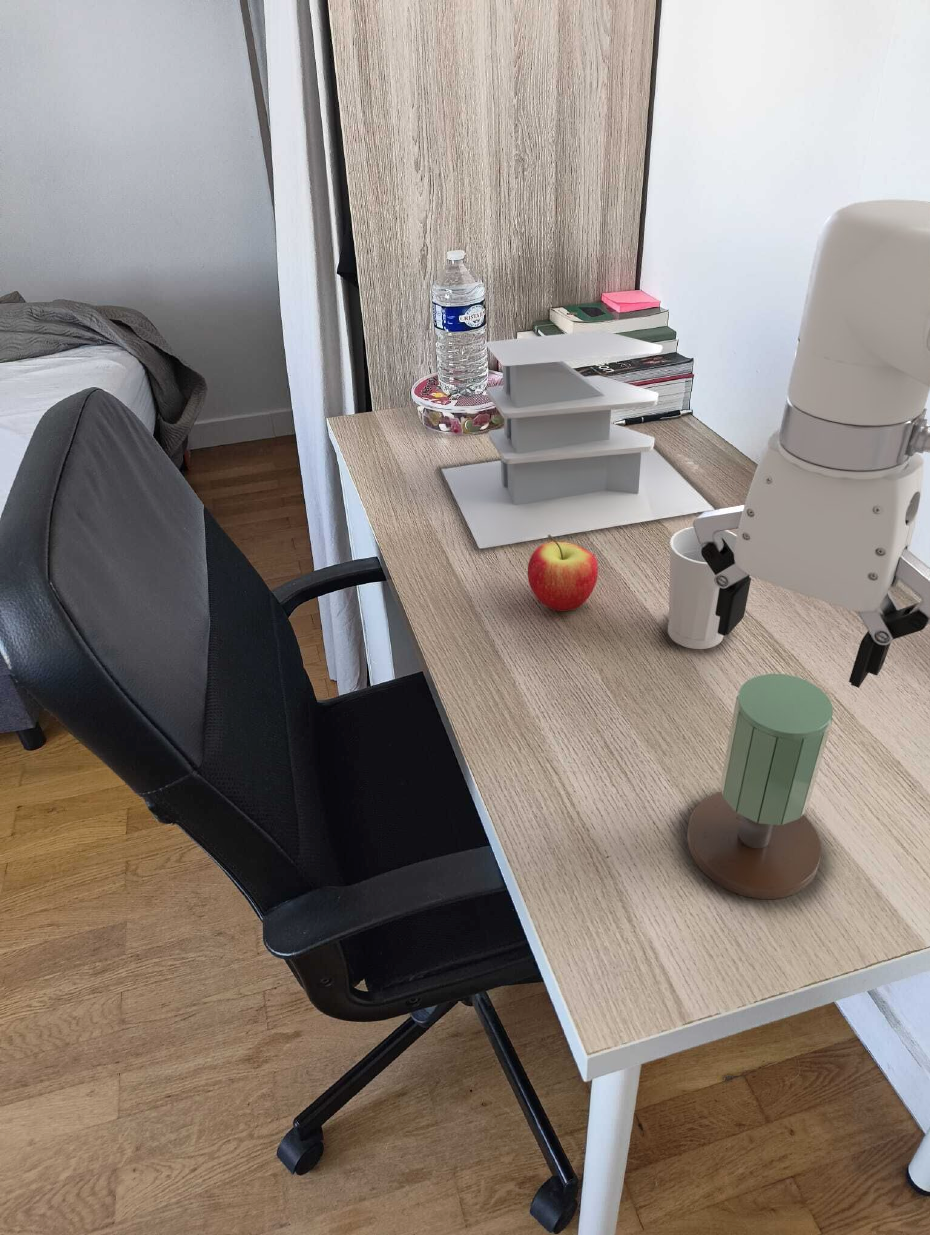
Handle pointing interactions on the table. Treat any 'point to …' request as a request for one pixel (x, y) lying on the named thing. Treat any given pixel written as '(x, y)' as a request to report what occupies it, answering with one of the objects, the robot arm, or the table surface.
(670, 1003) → the table surface
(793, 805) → the green cup
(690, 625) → the cup
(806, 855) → the towel stand
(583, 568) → the apple
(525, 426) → the file organizer
